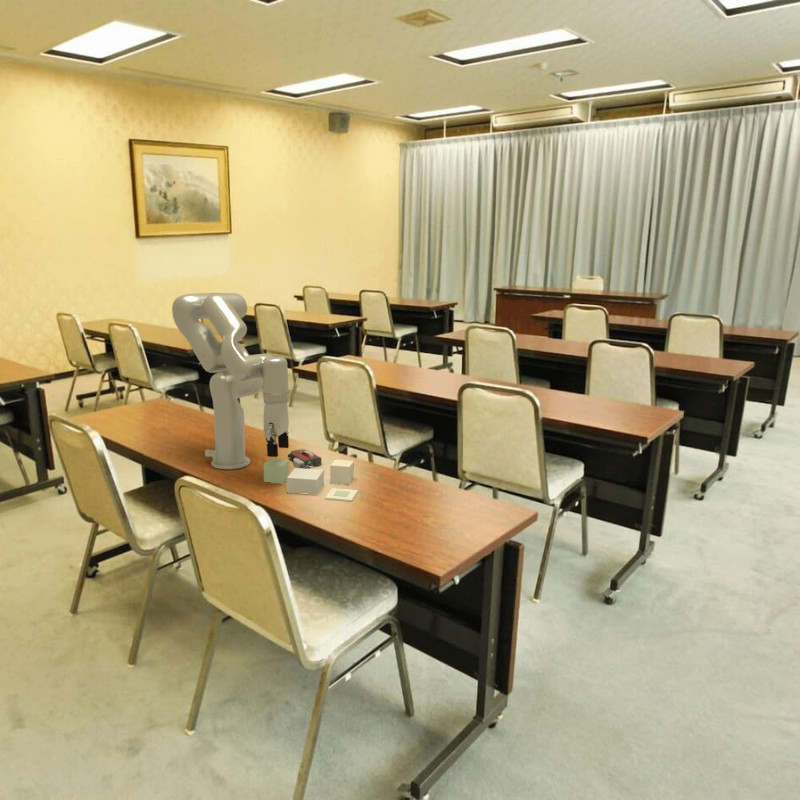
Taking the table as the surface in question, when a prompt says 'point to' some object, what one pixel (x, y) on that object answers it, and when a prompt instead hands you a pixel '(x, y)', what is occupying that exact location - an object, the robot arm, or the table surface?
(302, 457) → the walkie-talkie
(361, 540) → the table surface
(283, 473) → the sage cube
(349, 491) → the card
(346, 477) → the cream cube
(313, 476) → the base block
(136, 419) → the table surface
